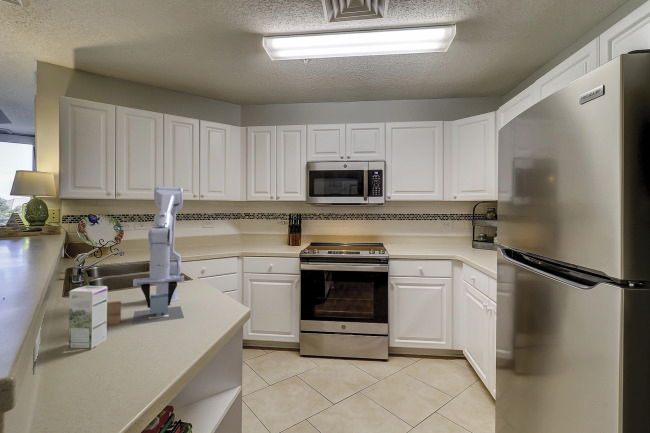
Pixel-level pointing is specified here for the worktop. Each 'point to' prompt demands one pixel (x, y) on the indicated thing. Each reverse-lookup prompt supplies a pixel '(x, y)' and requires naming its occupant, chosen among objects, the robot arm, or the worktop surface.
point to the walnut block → (113, 312)
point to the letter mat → (157, 315)
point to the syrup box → (87, 316)
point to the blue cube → (158, 303)
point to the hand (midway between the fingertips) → (158, 305)
